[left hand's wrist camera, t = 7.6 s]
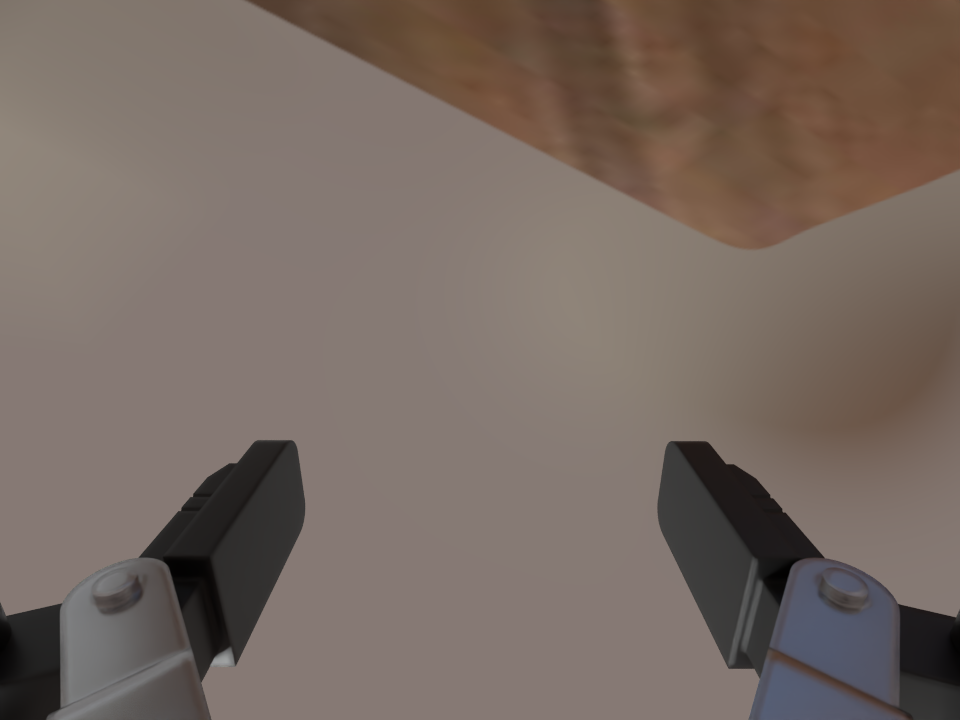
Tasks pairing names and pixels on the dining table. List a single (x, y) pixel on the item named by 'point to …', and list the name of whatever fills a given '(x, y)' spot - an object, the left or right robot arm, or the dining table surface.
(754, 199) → the dining table surface
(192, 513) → the left robot arm
